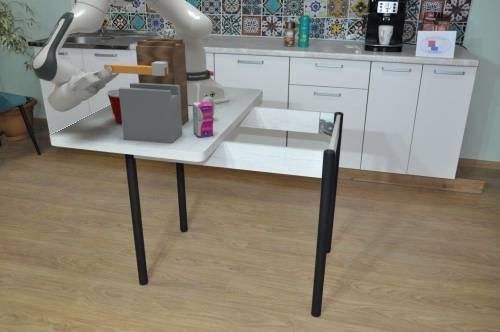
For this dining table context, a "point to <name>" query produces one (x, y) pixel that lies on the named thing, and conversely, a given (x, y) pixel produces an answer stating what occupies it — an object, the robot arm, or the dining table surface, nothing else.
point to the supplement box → (202, 119)
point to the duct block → (151, 112)
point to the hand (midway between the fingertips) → (114, 67)
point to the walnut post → (176, 60)
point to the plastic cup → (115, 104)
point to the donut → (210, 100)
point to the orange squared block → (141, 68)
